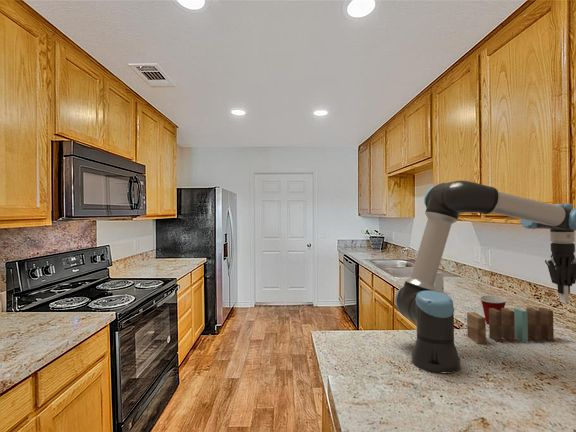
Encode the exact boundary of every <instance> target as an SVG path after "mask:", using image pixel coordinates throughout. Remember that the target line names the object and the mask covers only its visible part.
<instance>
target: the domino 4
mask: <svg viewBox="0 0 576 432" xmlns="http://www.w3.org/2000/svg"><path fill="white" fill-rule="evenodd" d="M525 311H527V317H528V340H531V341H532V342H533V341H534V342H536V343H539V342H540V343H541V340H542V338H541V329H540V311H539V309H536V308H533V307H525Z"/></svg>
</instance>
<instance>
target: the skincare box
mask: <svg viewBox="0 0 576 432" xmlns="http://www.w3.org/2000/svg"><path fill="white" fill-rule="evenodd" d="M434 286H435V288H436V290H437V292H441V293H444V292H445V288H444V287H445V284H444V272H443V271H438V272H437V276H436V279H435V283H434ZM444 294H445V293H444Z"/></svg>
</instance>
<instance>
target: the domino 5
mask: <svg viewBox="0 0 576 432" xmlns="http://www.w3.org/2000/svg"><path fill="white" fill-rule="evenodd" d="M538 310H539V311H540V329H541V340H544V341H547V342H550V343H551V342H552V343H553V342H554V341H555V340H554V337H555V336H554V310H551V309H548V308H546V307H538Z"/></svg>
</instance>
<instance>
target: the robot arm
mask: <svg viewBox="0 0 576 432" xmlns="http://www.w3.org/2000/svg"><path fill="white" fill-rule="evenodd" d="M423 203H424V205H425V208H426V209H425V213H424V214H425V216H426V217H427V221H426V225H425V226H424V231H423V234H422V238H421V240H420V245H419V248H418V251H417V255H416V257H415V261H414V265H413V269H412V271H411V274H410V277H409V278H406V280H404V283H403V286H402V287H401V288H399V289H398V290H397V292H396V294H395V296H394V304H395V307H396V309H397V310H398V312H399V313H400V314H401V315H402V316H403V317H405V318H406V319H408V320H410V321H412V323H415V324H416V340H415V344H414V348H413V351H412V352H411V362H412V364H413V365H414V366H416V367H417V366H418V367H417V368H420V369H421V368H422V369H421V370H424V369H425V370H424V371H427V370H428V372H431V371H432V372H431V373H436V372H453V371H456V372H458V371H460V369H461V359H460V357H459V353H458V350H457V347H456V345H455V317H454V316H455V308H454V302H453V298H451V296H450V295H448V294H446V293H441V292H437V290H436V288H435V286H434V283H435V279H436V276H437V272H439V269H440V265H441V261H442V258H443V255H444V251H445V248H446V244H447V242H448V237H449V235H450V231H451V228H452V227H451V226H452V225H453V224H455V223H457V222H458V219H459V217H460V216H459V215H460V213H461V214H462V213H477V214H478V213H479V214H483V215H490V214H492V213H493V214H496V215H501V216H505V217H511V218H516V219H519V220H520V224H521V225H522V227H524V228H525V229H532V230H535V229H536V230H537V229H542V230H543V229H544V230H549V234H550V235H549V236H550V237H549V238H550V242H551V243H550V251H551V255H550V258H549V259H545V260H544V263H545V264H546V266H547V269H548V272H549V276H550V280H551V283H552V284H555V285H556V287H557V293H558V294H559V295H558V296H559V302H563V303H565V304H567V303H570V299H569V294H570V293H571V287H573V285H575V284H576V255H575V252H576V244H575V243H574V242H576V240H575V239H576V238H575V231H576V207H574V205H573V204H572V203H554V204H553V203H547V202H544V201H540V200H535V199H531V198H527V197H522V196H519V195H515V194H510V193H506V192H501V191H498V189H497V188H496V187H493V186H489V185H485V184H481V183H477V182H473V181H469V180H454V181H449V182H441V183H438V184H435V185H433V186H431V187H430V188H428V190H427V191H426V193H425V194H424V198H423ZM573 208H574V209H573ZM457 370H458V371H457ZM453 373H454V372H453Z"/></svg>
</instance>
